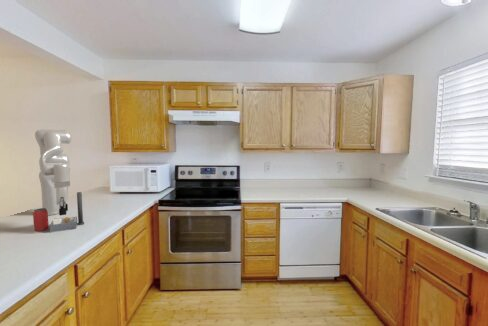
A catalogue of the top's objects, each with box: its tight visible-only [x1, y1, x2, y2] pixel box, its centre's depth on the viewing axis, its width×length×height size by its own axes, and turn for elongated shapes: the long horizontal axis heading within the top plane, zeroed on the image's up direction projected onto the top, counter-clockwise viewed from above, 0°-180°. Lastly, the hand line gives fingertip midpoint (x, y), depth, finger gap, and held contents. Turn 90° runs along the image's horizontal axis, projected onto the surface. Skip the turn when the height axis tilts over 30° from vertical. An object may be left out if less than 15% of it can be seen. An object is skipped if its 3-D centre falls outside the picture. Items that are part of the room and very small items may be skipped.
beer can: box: [32, 207, 50, 232], centre depth 141 cm, size 7×7×12 cm
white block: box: [52, 216, 62, 225], centre depth 141 cm, size 4×3×3 cm
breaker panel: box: [49, 215, 78, 233], centre depth 146 cm, size 12×12×6 cm
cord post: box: [76, 191, 85, 226], centre depth 151 cm, size 4×4×20 cm
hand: (63, 212), depth 145 cm, fingers open, 9 cm apart
